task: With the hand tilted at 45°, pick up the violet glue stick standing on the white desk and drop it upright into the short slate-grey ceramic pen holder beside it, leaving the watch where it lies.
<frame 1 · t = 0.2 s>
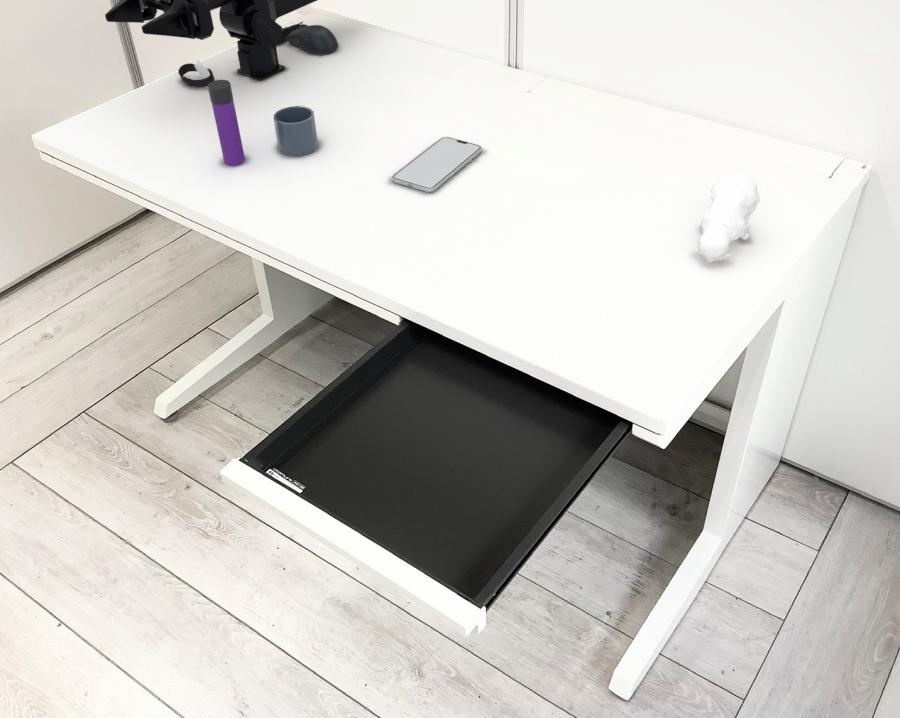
hand: (124, 24, 138), 17 cm above the table, tool horizontal, fingers open, 9 cm apart
smartphone: (438, 166, 135), on the table
watch: (198, 83, 161), on the table
white animal figurine: (718, 247, 117), on the table
computer mouse: (307, 45, 173), on the table
pen holder: (298, 147, 141), on the table
glue stick: (234, 160, 139), on the table
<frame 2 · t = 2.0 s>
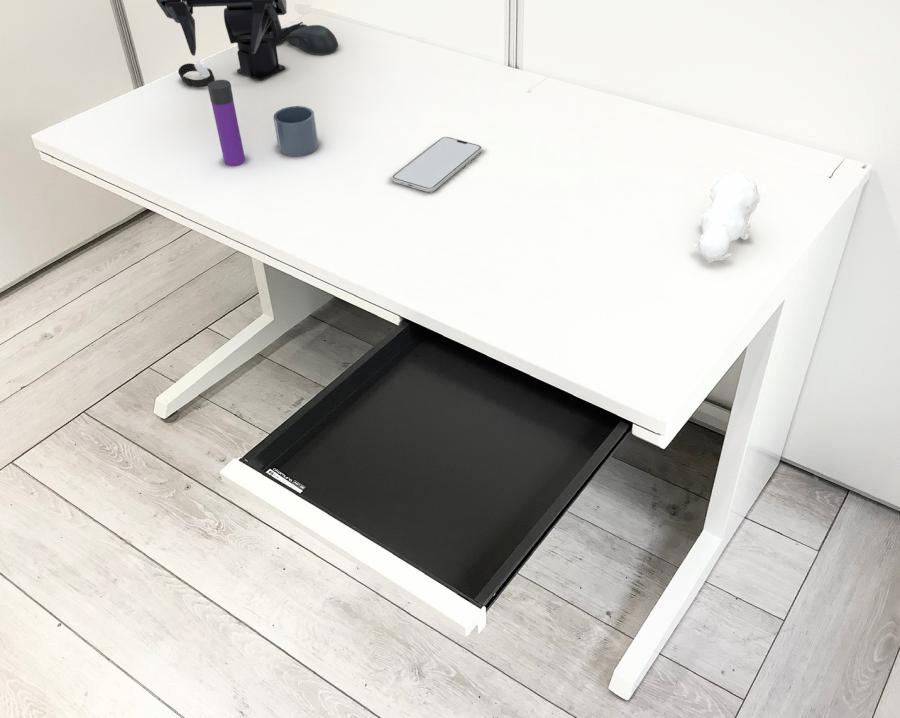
hand: (223, 53, 136), 14 cm above the table, tool tilted 45°, fingers open, 9 cm apart
nothing on the table moved.
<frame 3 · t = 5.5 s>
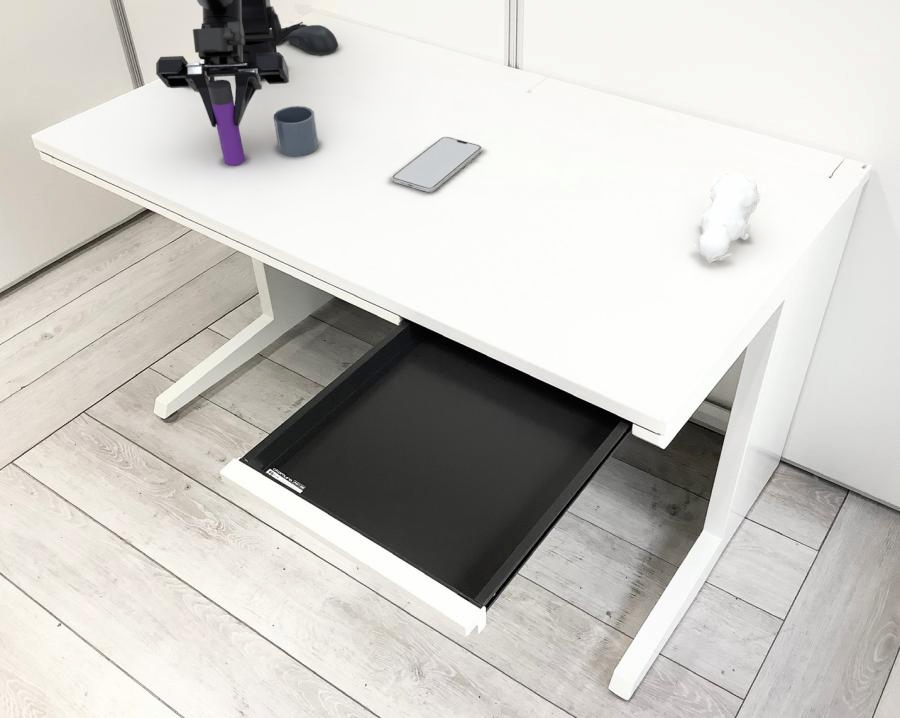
hand: (225, 125, 133), 7 cm above the table, tool tilted 45°, fingers closed on glue stick, 3 cm apart
glue stick: (234, 160, 139), on the table, touching gripper
everything else where it was.
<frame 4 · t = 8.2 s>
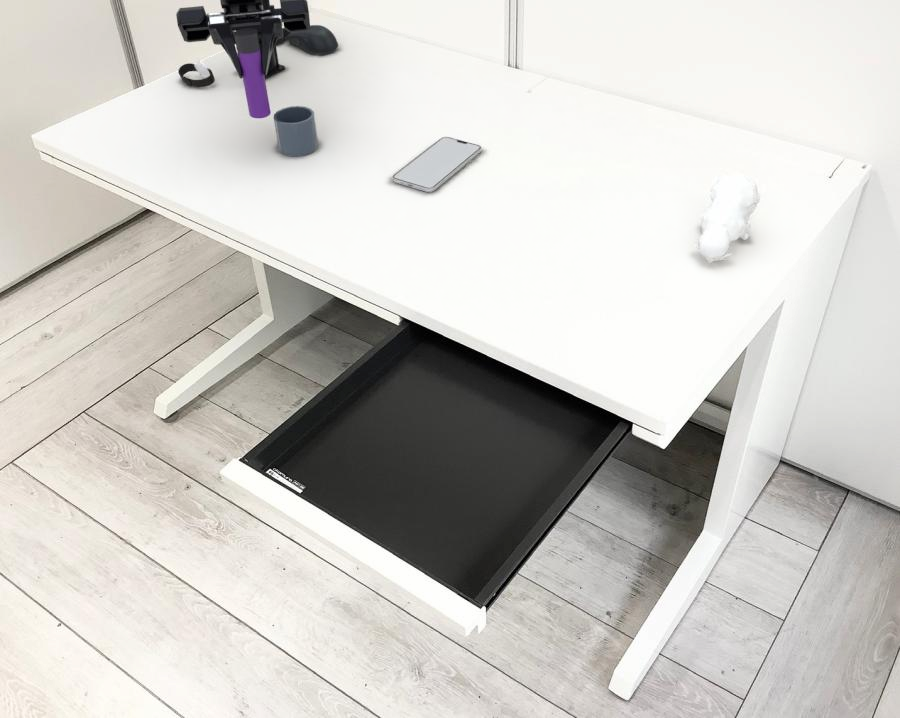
hand: (252, 75, 130), 13 cm above the table, tool tilted 45°, fingers closed on glue stick, 3 cm apart
glue stick: (260, 113, 135), point 7 cm above the table, touching gripper
everything else where it was.
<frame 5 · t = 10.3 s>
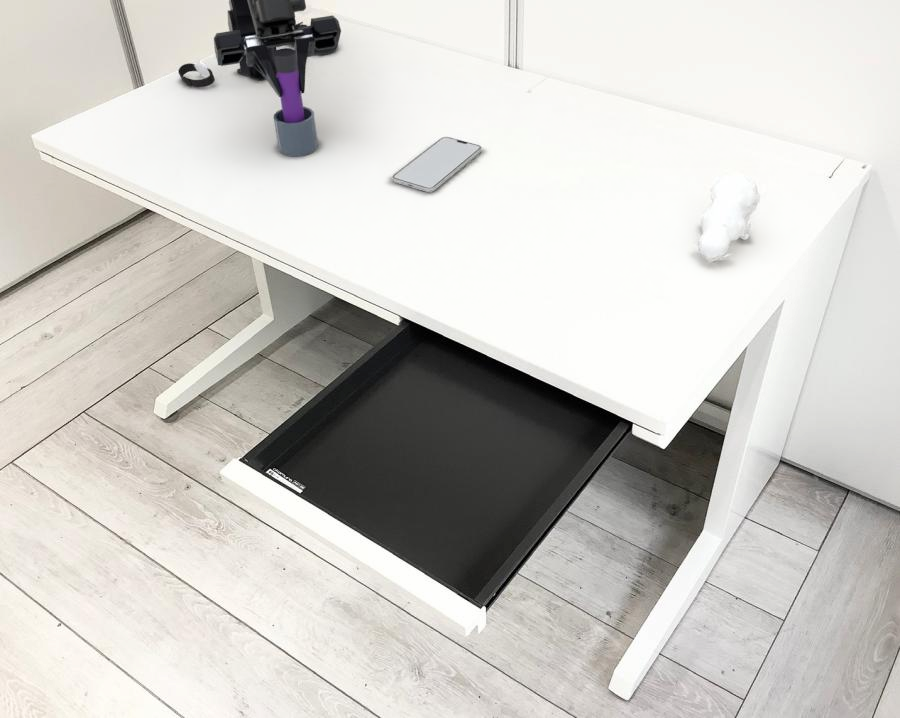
hand: (291, 94, 134), 9 cm above the table, tool tilted 45°, fingers closed on glue stick, 3 cm apart
glue stick: (296, 130, 139), point 3 cm above the table, touching gripper
everything else where it was.
when the fingers open (7 cm above the table, at t = 11.3 s): glue stick stays where it is, resting on pen holder.
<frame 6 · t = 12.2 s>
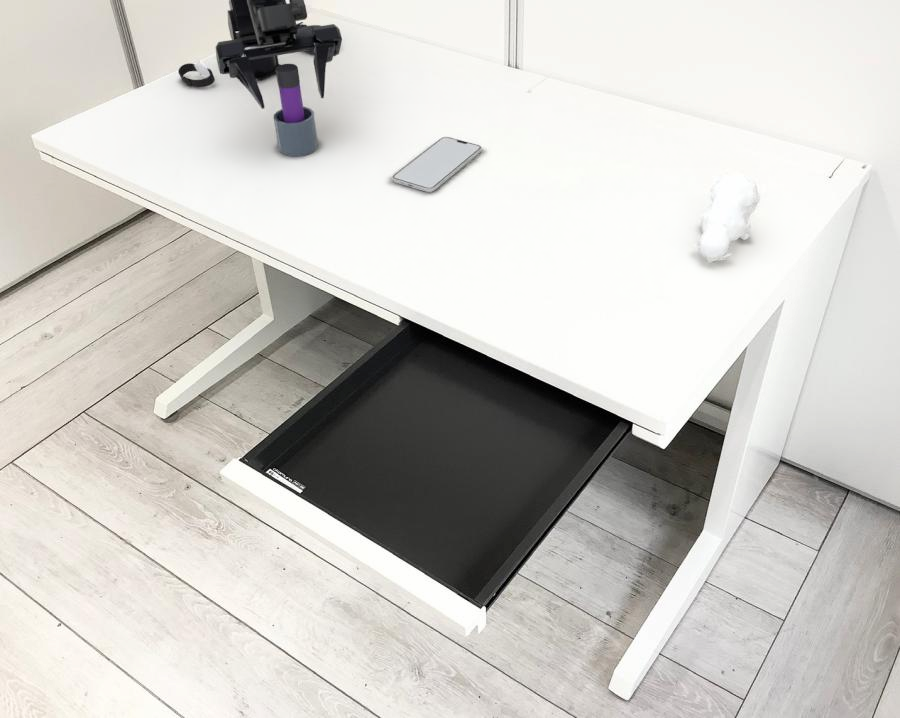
hand: (293, 102, 135), 8 cm above the table, tool tilted 45°, fingers open, 9 cm apart
glue stick: (298, 144, 141), resting on pen holder
everything else where it was.
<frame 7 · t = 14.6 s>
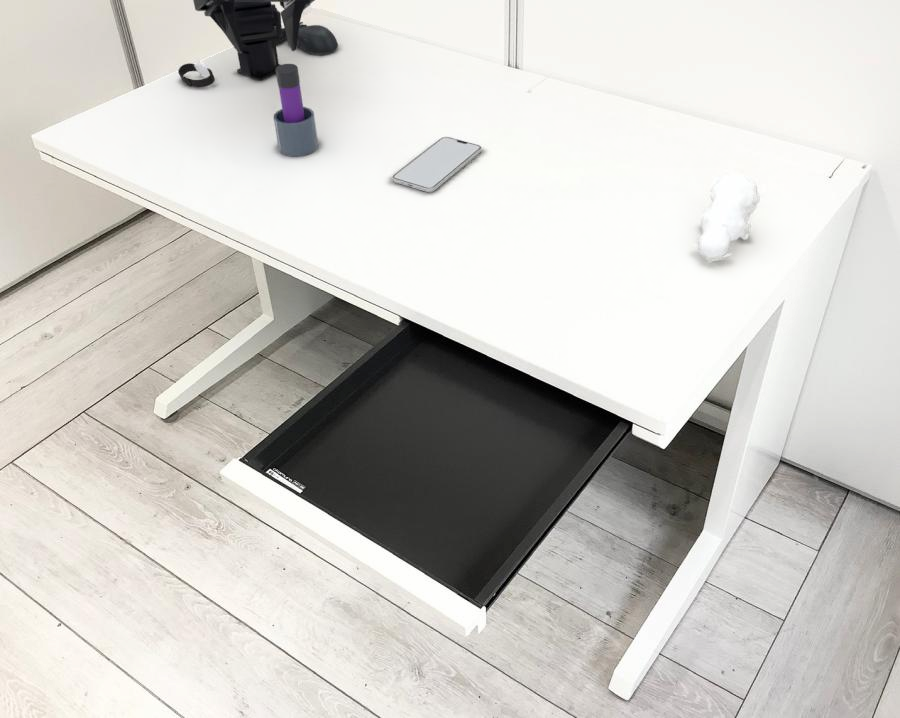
hand: (267, 51, 140), 12 cm above the table, tool tilted 35°, fingers open, 9 cm apart
nothing on the table moved.
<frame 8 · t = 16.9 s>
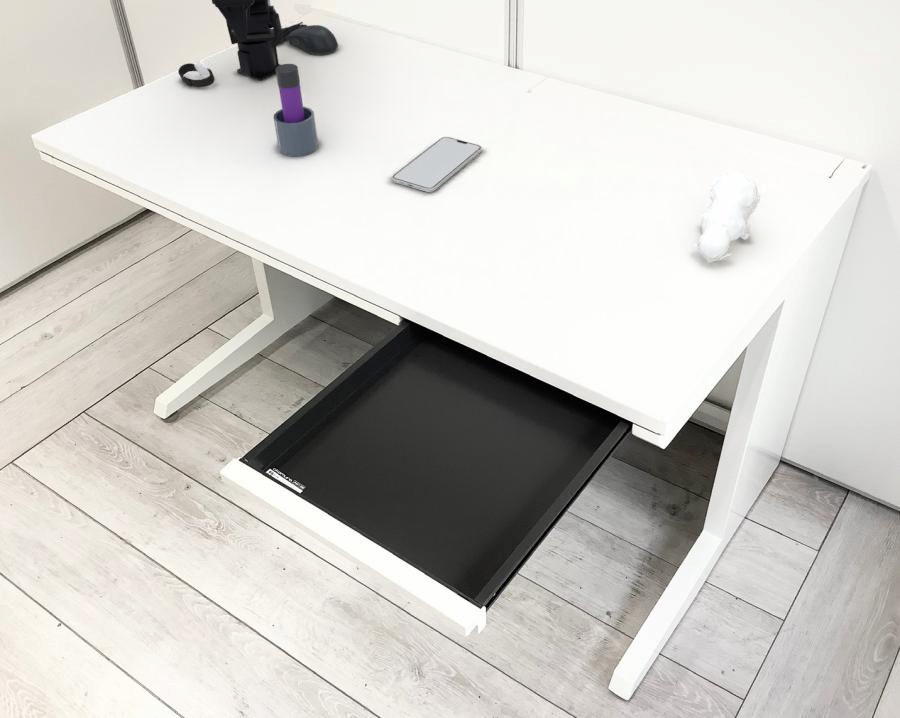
hand: (245, 29, 145), 13 cm above the table, tool pointing down, fingers open, 9 cm apart
nothing on the table moved.
at the end: glue stick 0.0 cm off-centre in the pen holder, point 0.5 cm above the pen holder's base; glue stick tilted 0°; watch moved 0.2 cm from its start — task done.
